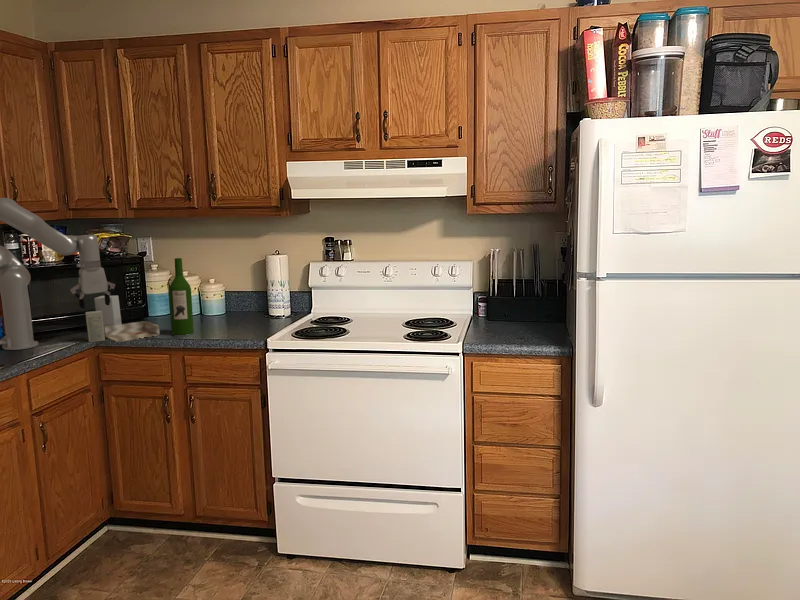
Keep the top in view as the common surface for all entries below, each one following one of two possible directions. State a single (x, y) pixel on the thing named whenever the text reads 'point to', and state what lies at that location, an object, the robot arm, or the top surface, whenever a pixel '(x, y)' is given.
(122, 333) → the tray
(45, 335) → the top surface
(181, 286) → the wine bottle
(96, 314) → the skincare box
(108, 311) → the skincare box
